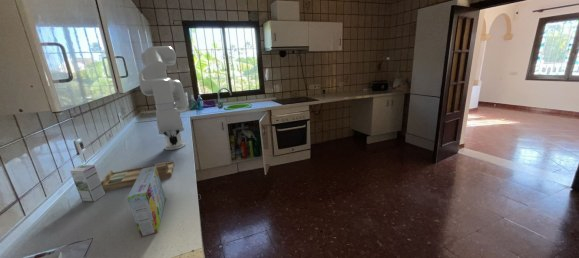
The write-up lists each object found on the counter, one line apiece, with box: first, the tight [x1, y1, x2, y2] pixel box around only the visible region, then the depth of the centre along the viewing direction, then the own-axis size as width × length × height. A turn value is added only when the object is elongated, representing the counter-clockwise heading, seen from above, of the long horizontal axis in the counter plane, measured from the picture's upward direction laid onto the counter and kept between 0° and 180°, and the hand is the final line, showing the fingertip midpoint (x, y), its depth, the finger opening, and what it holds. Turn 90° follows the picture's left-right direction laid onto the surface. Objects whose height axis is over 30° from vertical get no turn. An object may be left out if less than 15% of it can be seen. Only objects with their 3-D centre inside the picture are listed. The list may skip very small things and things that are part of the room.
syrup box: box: [69, 164, 106, 203], centre depth 97 cm, size 6×6×14 cm
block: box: [154, 161, 169, 174], centre depth 113 cm, size 5×5×4 cm
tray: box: [100, 160, 175, 192], centre depth 114 cm, size 14×28×4 cm, turn 110°
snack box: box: [126, 166, 167, 238], centre depth 82 cm, size 21×6×15 cm, turn 21°
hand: (174, 144), depth 112 cm, fingers closed
